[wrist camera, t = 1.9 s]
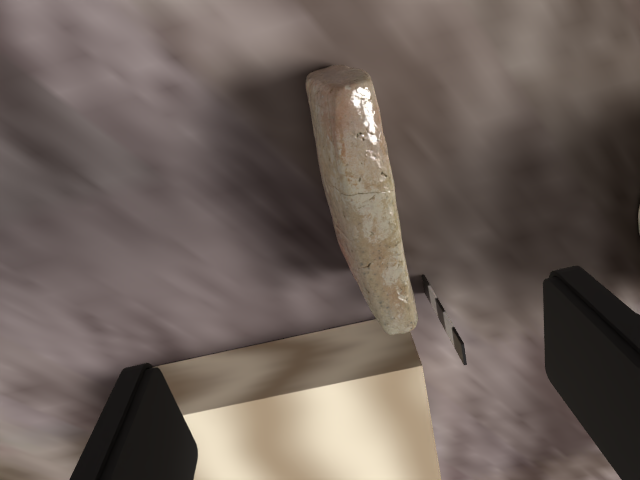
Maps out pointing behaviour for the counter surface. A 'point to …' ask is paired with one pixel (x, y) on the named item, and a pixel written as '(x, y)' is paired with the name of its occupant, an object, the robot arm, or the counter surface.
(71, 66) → the counter surface
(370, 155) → the stone tablet
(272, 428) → the birch block
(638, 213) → the coffee can
